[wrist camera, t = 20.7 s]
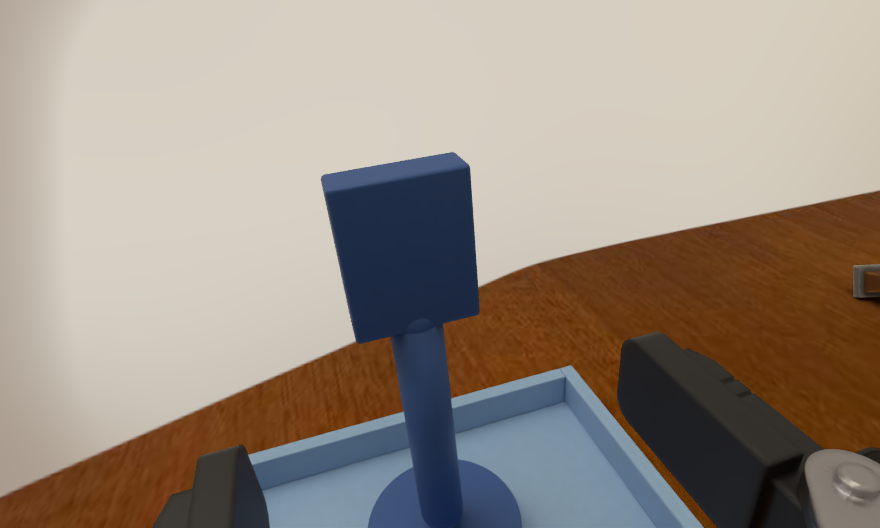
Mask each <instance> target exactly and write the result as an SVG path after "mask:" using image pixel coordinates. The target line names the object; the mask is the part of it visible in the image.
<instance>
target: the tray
mask: <svg viewBox="0 0 880 528" xmlns="http://www.w3.org/2000/svg"><path fill="white" fill-rule="evenodd" d="M451 402H452V411H453V420H454V429H455V438H456V447H457V456H458V459H459V460H464V461H469V462H472V463H475V464H478V465H480V466H483V467H485V468H486V469H488V470H490V471H491V472H493V473H494V474H495V475H497V476H498V477H499V478H500V479H501V480H502V481H503V482H504V483H505V484H506V485H507V487H508V488H509V489H510V491H511V492H512V494H513V496H514V497H515V499H516V502H517V504H518V507H519V510H520V514H521V521H522V528H704V527H703V526H702V525H701V524H700V523H699V521H698V520H697V519H696V518H695V516H694V515H693V514H692V513H691V511H690V510H689V509H688V508H687V507H686V505H685V504H684V503H683V502H682V500H681V499H680V498H679V497H678V496H677V494H676V493H675V492H674V491H673V489H672V488H671V487H670V486H669V485H668V483H667V482H666V481H665V480H664V478H663V477H662V476H661V475H660V474H659V472H658V471H657V470H656V469H655V467H654V466H653V465H652V464H651V463H650V461H649V460H648V459H647V458H646V456H645V455H644V454H643V453H642V452H641V450H640V449H639V448H638V447H637V445H636V444H635V443H634V442H633V440H632V439H631V438H630V437H629V436H628V434H627V433H626V432H625V431H624V429H623V428H622V427H621V426H620V425H619V423H618V422H617V421H616V420H615V418H614V417H613V416H612V415H611V414H610V412H609V411H608V410H607V409H606V407H605V406H604V405H603V404H602V403H601V401H600V400H599V399H598V398H597V396H596V395H595V394H594V393H593V392H592V390H591V389H590V388H589V387H588V385H587V384H586V383H585V382H584V380H583V379H582V378H581V377H580V376H579V374H578V373H577V372H576V371H575V369H574V368H573V367H572V366H567V367H563V368H561V369H556V370H552V371H548V372H545V373H541V374H538V375H534V376H530V377H527V378H523V379H520V380H516V381H512V382H509V383H505V384H502V385H498V386H494V387H491V388H487V389H484V390H480V391H476V392H473V393H469V394H466V395H462V396H458V397H455V398H451ZM248 456H249V458H250V461H251V464H252V466H253V469H254V471H255V474H256V476H257V479H258V482H259V484H260V487H261V489H262V492H263V494H264V497H265V501H266V505H267V509H268V515H269V524H270V528H368V523H369V518H370V515H371V512H372V509H373V507H374V505H375V503H376V501H377V499H378V497H379V496H380V494H381V493H382V492H383V490H384V489H385V488H386V487H387V485H388V484H390V483H391V482H392V481H393V480H394V479H395V478H396V477H397V476H399V475H400V474H401V473H403V472H405V471H406V470H408V469H410V468H412V467H413V463H412V457H411V451H410V445H409V440H408V434H407V428H406V422H405V416H404V412H401V413H397V414H394V415H390V416H386V417H383V418H379V419H376V420H372V421H368V422H365V423H361V424H358V425H354V426H350V427H347V428H343V429H340V430H336V431H332V432H329V433H325V434H322V435H318V436H315V437H311V438H307V439H304V440H300V441H297V442H293V443H289V444H286V445H282V446H279V447H275V448H271V449H268V450H264V451H261V452H257V453H253V454H250V455H248Z"/></svg>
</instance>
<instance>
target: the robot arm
mask: <svg viewBox="0 0 880 528" xmlns="http://www.w3.org/2000/svg"><path fill="white" fill-rule="evenodd" d="M617 397H618V402H619V406H620V409H621V411H622V413H623V415H624V417H625V418H626V420H627V421H628V422H629V424H630V425H631V426H632V427H633V428H634V430H635V431H636V432H637V433H638V434H639V435H640V437H641V438H642V439H643V440H644V441H645V443H646V444H647V445H648V446H649V447H650V448H651V450H652V451H653V452H654V453H655V454H656V456H657V457H658V458H659V459H660V460H661V461H662V463H663V464H664V465H665V466H666V467H667V468H668V470H669V471H670V472H671V473H672V474H673V476H674V477H675V478H676V479H677V480H678V481H679V483H680V484H681V485H682V486H683V487H684V489H685V490H686V491H687V492H688V493H689V494H690V496H691V497H692V498H693V499H694V500H695V502H696V503H697V504H698V505H699V506H700V507H701V509H702V510H703V511H704V512H705V513H706V515H707V516H708V517H709V518H710V519H711V520H712V522H713V523H714V524H715V525H716V526H717V527H718V528H880V464H879V463H877V462H875V461H873V460H871V459H869V458H867V457H864V456H862V455H859V454H856V453H853V452H849V451H845V450H837V449H826V450H824V449H823V448H822V447H820V446H819V445H818V444H816V443H815V442H814V441H813V440H811V439H810V438H809V437H808V436H807V435H805V434H804V433H803V432H802V431H800V430H799V429H798V428H797V427H795V426H794V425H793V424H792V423H791V422H789V421H788V420H787V419H786V418H784V417H783V416H782V415H781V414H779V413H778V412H777V411H776V410H774V409H773V408H772V407H771V406H770V405H768V404H767V403H766V402H765V401H763V400H762V399H761V398H760V397H758V396H757V395H756V394H752V393H751V390H750V389H749V388H747V387H746V386H745V385H744V384H742V383H741V382H740V381H739V380H735V379H734V376H733V375H731V374H730V373H729V372H728V371H726V370H725V369H724V368H723V367H721V366H720V365H719V364H718V363H717V362H715V361H714V360H712V359H710V358H708V357H706V356H704V355H701V354H699V353H697V352H695V351H693V350H691V349H688V348H687V349H684V350H683V349H681V348H680V347H679V346H678V345H677V344H675V343H674V342H673V341H672V340H671V339H670V338H668V337H667V336H666V335H665V334H663V333H661V332H654V333H651V334H647V335H643V336H640V337H636V338H632V339H629V340H626V341H625V342H624V343H623V345H622V349H621V359H620V369H619V380H618V390H617ZM153 528H270V524H269V515H268V509H267V505H266V501H265V497H264V494H263V492H262V489H261V487H260V484H259V482H258V479H257V476H256V474H255V471H254V469H253V466H252V464H251V461H250V458H249V456H248V453H247V451H246V449H245V447H244V446H243V445H238V446H235V447H231V448H227V449H224V450H220V451H216V452H213V453H209V454H205V455H202V456H200V457H199V459H198V461H197V465H196V471H195V478H194V484H193V489H190V490H186V491H183V492H179V493H176V494H173V495H172V496H171V497H170V499H169V501H168V502H167V504H166V505H165V507H164V509H163V510H162V512H161V513H160V515H159V517H158V518H157V520H156V521H155V523H154V526H153Z"/></svg>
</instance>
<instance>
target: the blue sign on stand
mask: <svg viewBox="0 0 880 528" xmlns="http://www.w3.org/2000/svg"><path fill="white" fill-rule="evenodd" d="M321 182H322V187H323V191H324V196H325V201H326V206H327V210H328V215H329V219H330V224H331V229H332V234H333V238H334V243H335V248H336V252H337V256H338V262H339V266H340V271H341V276H342V280H343V285H344V290H345V294H346V299H347V303H348V308H349V313H350V318H351V322H352V326H353V330H354V334H355V339H356V341H357V343H359V344H361V343H365V342H369V341H373V340H377V339H381V338H385V337H390V336H391V341H392V347H393V353H394V358H395V364H396V370H397V376H398V382H399V387H400V393H401V399H402V405H403V411H404V416H405V422H406V428H407V434H408V440H409V445H410V451H411V457H412V463H413V467H412V468H410V469H408V470H406V471H405V472H403V473H401V474H400V475H399V476H397V477H396V478H395V479H394V480H393V481H392V482H391V483H390V484H388V485H387V487H386V488H385V489H384V490H383V492H382V493H381V494H380V496H379V497H378V499H377V501H376V503H375V505H374V507H373V509H372V512H371V515H370V518H369V523H368V528H522V521H521V514H520V510H519V507H518V504H517V502H516V499H515V497H514V496H513V494H512V492H511V491H510V489H509V488H508V487H507V485H506V484H505V483H504V482H503V481H502V480H501V479H500V478H499V477H498V476H497V475H495V474H494V473H493V472H491V471H490V470H488V469H486V468H485V467H483V466H480V465H478V464H475V463H472V462H469V461H464V460H459V459H458V456H457V447H456V438H455V429H454V420H453V411H452V402H451V393H450V384H449V375H448V366H447V357H446V348H445V338H444V329H443V323H447V322H451V321H455V320H459V319H463V318H467V317H471V316H475V315H478V314H479V312H480V309H479V294H478V280H477V265H476V251H475V235H474V221H473V206H472V191H471V176H470V166H469V165H468V164H467V163H466V162H465V161H463V159H461V158H460V157H459V156H458V155H457V154H455V153H452V152H451V153H445V154H439V155H434V156H428V157H422V158H416V159H411V160H405V161H400V162H394V163H388V164H383V165H377V166H371V167H365V168H360V169H354V170H348V171H343V172H337V173H331V174H326V175H323V176H322V177H321Z"/></svg>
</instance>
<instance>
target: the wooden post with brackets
mask: <svg viewBox="0 0 880 528" xmlns="http://www.w3.org/2000/svg"><path fill="white" fill-rule="evenodd" d="M853 297H859V298H860V297H880V264H877V265H857V266H853Z"/></svg>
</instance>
